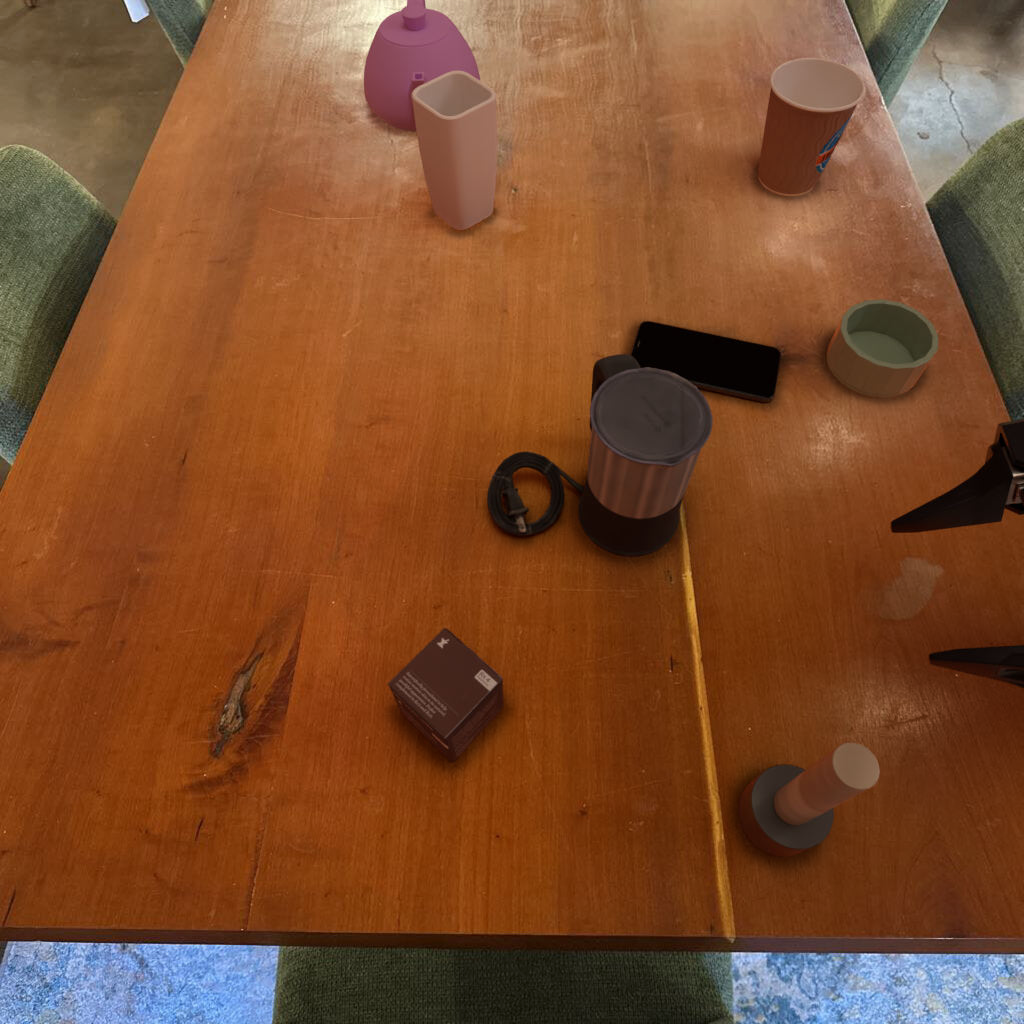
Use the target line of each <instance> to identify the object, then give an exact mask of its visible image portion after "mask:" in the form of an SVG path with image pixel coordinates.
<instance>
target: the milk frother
mask: <svg viewBox="0 0 1024 1024" xmlns="http://www.w3.org/2000/svg"><path fill="white" fill-rule="evenodd" d="M713 422H714V418H713V412H712V410H711V406H710V403H709V402H708V400H707V399H706V397H705V395H704V394H703V393H702V392H701V390H700V389H699V388H697V387H696V386H694V385H693V384H692V383H691V382H689V381H688V380H686V379H684V378H682V377H680V376H679V375H677V374H675V373H672V372H669V371H666V370H661V369H657V368H650V367H646V368H641V367H640V365H639V364H638V362H637V361H636V359H635V358H634V357H633V356H631V355H630V354H628V353H620V354H613V355H608V356H605V357H602V358H599V359H597V360H596V361H595V362H594V365H593V367H592V379H591V394H590V406H589V429H590V441H589V450H588V459H587V467H586V475H585V483H584V485H582V484H581V483H579V482H578V481H576V480H575V479H574V478H572V477H571V476H570V475H569V474H568V473H566V472H565V471H564V470H562V469H561V467H559V466H558V465H557V464H555V462H553V461H551V460H550V459H549V458H548V457H546V456H544V455H542V454H540V453H536V452H533V451H519V452H514V453H513V454H511V455H508V456H507V457H506V458H505V459H503V460H502V461H501V463H500V464H499V465H498V466H497V468H496V469H495V471H494V473H493V474H492V476H491V480H490V482H489V485H488V490H487V495H486V496H487V497H486V504H487V509H488V512H489V515H490V517H491V519H492V521H493V522H494V523H495V525H496V526H497V527H498V528H499V529H501V531H503V532H505V533H507V534H510V535H511V536H515V537H528V536H532V535H533V536H534V535H536V534H540V533H542V532H543V531H545V530H547V529H549V528H550V527H552V526H553V524H554V523H555V522H556V521H557V519H558V518H559V516H560V514H561V513H562V510H563V507H564V504H565V489H564V483H563V480H562V478H563V479H564V480H565V481H566V482H568V484H569V485H570V486H571V487H572V488H573V489H575V490H576V491H578V492H579V493H581V495H580V497H579V500H578V507H577V513H578V519H579V523H580V525H581V527H582V529H583V531H584V533H585V534H586V535H587V536H588V538H589V539H590V540H591V541H592V542H593V543H594V544H596V545H597V546H599V547H600V548H602V549H603V550H605V551H607V552H609V553H612V554H615V555H619V556H625V557H627V556H628V557H638V556H646V555H649V554H652V553H655V552H656V551H658V550H660V549H661V548H663V547H664V546H666V544H668V543H669V542H670V541H671V539H673V537H674V535H675V533H676V531H677V529H678V527H679V523H680V511H681V506H682V503H683V500H684V497H685V494H686V492H687V488H688V486H689V484H690V481H691V479H692V476H693V473H694V470H695V467H696V465H697V461H698V460H699V456H700V453H701V450H702V448H703V447H704V446H705V445H706V444H707V442H708V440H709V438H710V437H711V434H712V429H713ZM521 469H532V470H534V471H537V472H538V473H539V474H541V475H542V476H543V477H544V478H545V479H546V480H547V482H548V484H549V487H550V500H549V504H548V507H547V508H546V511H545V513H543V515H542V516H541V517H539V518H538V519H537V520H534V521H532V522H529V523H527V522H526V520H525V518H524V517H525V516H526V515H527V513H528V512H530V508H529V507H528V506H527V507H526V506H525V505H524V502H523V500H522V498H521V496H520V493H519V488H517V487H515V484H514V478H513V475H514V474H515V473H516V472H517V471H519V470H521ZM561 477H562V478H561ZM502 498H503V501H504V506H505V510H504V507H503V502H502Z"/></svg>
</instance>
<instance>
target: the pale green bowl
mask: <svg viewBox="0 0 1024 1024" xmlns="http://www.w3.org/2000/svg"><path fill="white" fill-rule="evenodd" d="M939 339H940V338H939V334H938V332H937V330H936V328H935V326H934V325H933V322H932V321H930V319H929V318H927V317H926V316H925V315H924V313H922V312H921V311H920V310H918V309H916V308H913V307H912V306H909V305H908V304H905V303H903V302H899V301H896V300H895V301H894V300H889V299H885V298H878V299H866V300H863V301H861V302H858V303H855V304H853V305H851V306H850V307H849V308H848V309H847V310H846V311H845V312H844V313H843V315H842V316H841V318H840V320H839V323H838V324H837V327H836V329H835V331H834V333H833V335H832V338H831V339H830V342H829V344H828V347H827V349H826V364H827V367H828V368H829V371H830V372H831V374H832V375H833V377H834V378H835V379H836V380H837V381H838V382H839V383H840V384H841V385H843V386H844V387H846V388H848V389H849V390H851V391H853V392H854V393H857V394H860V395H863V396H867V397H872V398H880V399H881V398H885V399H886V398H894V397H898V396H901V395H904V394H906V393H907V392H908V391H910V390H911V389H912V388H913V387H914V386H915V385H916V383H917V382H918V380H919V379H920V378H921V377H922V375H923V373H924V372H925V370H926V369H927V368H928V366H929V364H930V363H931V361H932V360H933V358H934V357H935V355H936V354H937V352H938V350H939Z"/></svg>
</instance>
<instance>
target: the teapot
mask: <svg viewBox="0 0 1024 1024" xmlns="http://www.w3.org/2000/svg"><path fill="white" fill-rule="evenodd" d="M363 71H364V72H363V91H364V99H365V101H366V103H367V105H368V107H369V108H370V110H371V111H372V112H373V113H374V114H375V115H376V116H377V117H379V118H380V119H381V120H382V121H383V122H385V123H386V124H388V125H389V126H391V127H393V128H395V129H396V130H401V131H404V132H409V133H410V132H411V133H417V131H416V124H415V116H414V108H413V101H412V92H413V91H414V89H416V88H417V87H419V86H421V85H423V84H425V83H427V82H429V81H431V80H433V79H435V78H437V77H439V76H441V75H443V74H445V73H448V72H451V71H464V72H466V73H469V74H470V75H472V76H473V77H475V78H476V79H478V80H479V81H481V76H480V71H479V67H478V64H477V60H476V58H475V55H474V52H473V51H472V49H471V47H470V44H469V43H468V42H467V40H466V39H465V37H464V36H463V34H462V33H461V31H460V29H459V28H458V27H457V26H456V24H455V23H454V22H453V21H452V19H451V18H450V17H449V16H447V15H446V14H444V13H443V12H441V11H438V10H435V9H431V8H427V5H426V0H406V6H403V8H402V9H401V10H399V11H396V12H394V13H391V14H390V15H388V16H387V17H385V18H384V19H383V20H382V21H381V23H380V24H379V26H378V27H377V29H376V31H375V34H374V37H373V38H372V42H371V43H370V46H369V49H368V51H367V54H366V58H365V64H364V70H363Z"/></svg>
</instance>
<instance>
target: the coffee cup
mask: <svg viewBox="0 0 1024 1024" xmlns="http://www.w3.org/2000/svg"><path fill="white" fill-rule="evenodd" d="M769 84H770V91H769V97H768V103H767V109H766V118H765V121H764V122H765V124H764V129H763V136H762V142H761V148H760V154H759V159H758V160H759V161H758V174H757V175H758V180H759V183H760V184H761V185H762V186H763V187H764V188H765V189H766V190H767V191H769V192H771V193H773V194H776V195H780V196H783V197H798V196H802V195H805V194H808V193H809V192H811V191H812V189H814V187H815V185H816V184H817V182H818V181H819V180H820V178H821V176H822V174H823V172H824V171H825V170H826V166H827V165H828V163H829V161H830V159H831V157H832V155H833V153H834V151H835V149H836V147H837V146H838V144H839V142H840V139H841V138H842V136H843V134H844V131H845V130H846V128H847V126H848V124H849V123H850V121H851V118H852V117H853V114H854V112H855V110H856V108H857V106H858V104H859V103H860V102H861V101H862V100H863V99H864V97H865V95H866V83H865V81H864V79H863V77H862V76H861V75H860V74H859V73H858V72H856V70H854V69H852V68H851V67H849V66H848V65H846V64H843V63H840V62H838V61H835V60H831V59H827V58H819V57H800V58H795V59H790V60H787V61H784V62H783V63H781V64H779V65H778V66H777V67H775V69H774V70H773V71H772V73H771V74H770V77H769Z"/></svg>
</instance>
